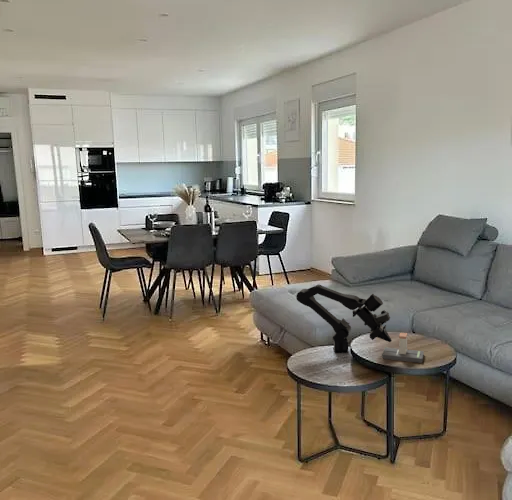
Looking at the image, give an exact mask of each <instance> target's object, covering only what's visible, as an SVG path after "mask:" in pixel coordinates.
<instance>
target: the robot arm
mask: <svg viewBox="0 0 512 500" xmlns="http://www.w3.org/2000/svg"><path fill="white" fill-rule="evenodd" d="M316 295H320V296H322V297H324V298H326V299H327V298H328V299H330V300H333V301H334V302H335V301H336V302H338V303H340V304H341V305H343V306H344V307H345V308H347V309H348V310H350V311H352V317H353V318H354V317H356V316H357V317H358V318H359V319H360V320H361V321H363V325H364V326H367V327H368V328H369V329H370V330H369V331H370V333H369V338H370V339H371V340H372V341H373V340H375V339H376V338H377V339H380V340H383V341H386V342H387V343H392V338H391V337H390V335H389V333H388V331H387V324H385V323H387V322H389V321H390V319H391V316H390V313H389V312H388V311H386V310H385V309H382V310H381V311H380V314H378V315H377V314H376V313H375V314H373V313H372V312H375V311H377V310H378V309H379V308H380V307H381V306H382V305H383V304H384V303H383V301H382V299H381V298H380V297H379V296H377V295H375V294H374V293H372V294H370V296H368V298H367V299H365V298H360V297H358V296H357V295H355V294H354V295H353V294H350V293H349V294H346V293H342V292H339V291H336V290H333V289H331V288H330V287H329V288H328V287H327V286H323V285H322V284H320V283H319V284H316V285H314V286H312V287H309V288H302V289H301V290H299V291H298V293H296V296H295V297H296V301H297V302H298V303H300V304H302V305H304V306H306V307H309V308H310V309H311V310H313V312H314V313H316V314H317V315H318V316H319V317H321V318H322V319H323V320H324V321H325V322H326V323H328V324H329V325H330V326H331V328H332V329H333V331H334V335H333V336H332V339H333V340H332V341H333V347H332V349H333V352H334V353H335V354H338V353H339V354H341V353H343V354H344V353H346V354H347V353H349V341H348V339H347V337H349V335H350V334H351V332H352V327H351V326H352V325H350V322H347V321H346V319H344V318H341V319H339V318H337V317H336V316H335V315H333V313H332V312H330V311H329V310H328V309H327V308H326V307H324V306H323V305H322V304H321V303H319V302H318V300H316V298H315V296H316ZM384 324H385V325H384Z"/></svg>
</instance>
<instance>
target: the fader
mask: <svg viewBox="0 0 512 500" xmlns="http://www.w3.org/2000/svg"><path fill="white" fill-rule="evenodd" d="M398 338H399V339H398V340H399V341H398V346H399V347H398V349H399V354H406V352H407V350H408V333H407V332H400V333H399V336H398Z"/></svg>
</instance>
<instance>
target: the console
mask: <svg viewBox="0 0 512 500" xmlns="http://www.w3.org/2000/svg"><path fill="white" fill-rule="evenodd" d="M382 351H383V352H382V354H381V355H382V356H381V357H382V358H384V359H383V360H390V359H391V361H401V362H409V363H410V362H411V363H419V364H423V360H424V354H425V351H424V350H416V349H407V352H406V354H399V348H396V347H384V349H383V350H382ZM382 358H381V359H382Z"/></svg>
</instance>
